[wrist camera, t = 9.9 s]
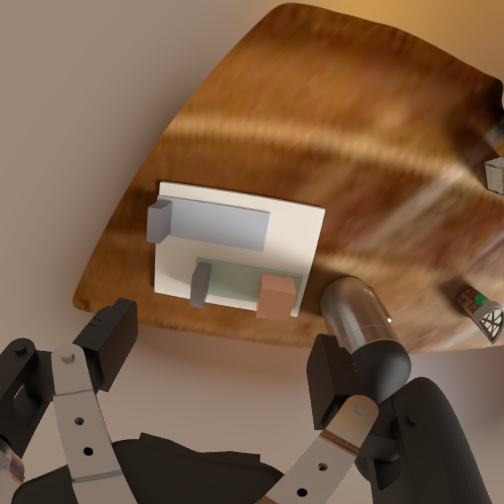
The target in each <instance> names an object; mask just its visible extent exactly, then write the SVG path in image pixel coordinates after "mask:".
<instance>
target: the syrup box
mask: <svg viewBox="0 0 504 504" xmlns="http://www.w3.org/2000/svg"><path fill="white" fill-rule="evenodd" d="M484 166H485V172H486V180H487V188H488V191H491V192H493V193H496V194H498V195H501V196H504V157H499V158H496V159H493V160H490V161H487V162H484Z"/></svg>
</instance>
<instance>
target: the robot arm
mask: <svg viewBox="0 0 504 504" xmlns="http://www.w3.org/2000/svg"><path fill="white" fill-rule="evenodd" d="M320 307H321V311H322V314H323V318H324V322H325V325H326V328H327V332H328V335H327V334H318V335H317V337H316V340H315V343H314V345H313V348H312V351H311V353H310V356H309V359H308V362H307V379H308V385H309V392H310V399H311V407H312V414H313V422H314V429H315V430H324V431H322V432H321V434H320V435H319V436H318V437H317V438H316V440H315V441H314V442H313V443H312V444H311V446H310V447H309V448H308V449H307V450H306V452H305V453H304V454H303V455H302V456H301V457H300V459H299V460H298V461H297V462H296V463H295V464H294V465H293V467H291V469H290V470H289V471H288V472H287V473H286V474H285V475H284V474H283V473H282V472H280V471H279V470H277V469H276V468H274V467H272V466H270V465H267V464H265V463H261V462H260V454H249V453H240V452H233V451H227V452H207V453H206V452H205V453H200V452H196V451H193V450H191V449H189V448H186V447H184V446H182V445H180V444H178V443H175V442H173V441H171V440H168V439H164V438H161V437H157V436H153V435H149V434H146V433H141V435H140V438H139V439H127V440H121V441H116V442H113V443H112V440H111V438H110V435H109V433H108V430H107V427H106V424H105V422H104V419H103V416H102V413H101V410H100V406H99V403H98V400H97V397H96V394H97V392H98V391H99V389H100V390H102V391H105V392H108V391H109V389H110V387H111V386H112V384H113V382H114V380H115V378H116V376H117V374H118V373H119V371H120V369H121V367H122V365H123V363H124V362H125V360H126V358H127V356H128V354H129V353H130V351H131V349H132V347H133V345H134V344H135V342H136V339H137V335H138V319H137V304H136V302H135V301H132V300H128V299H124V298H119V299H118V300H117V301H116V302H115V303H114V305H113V306H112V307H110V306H106V307H104V308H103V309H101V310H99V311H98V312H97V313H96V314H95V316H94V317H93V319H91V321H90V322H89V323H88V325H86V326H85V328H84V329H83V330H82V331H81V333H80V334H79V335H78V337H77V338H76V339H75V340H74V341H73V343H72V344H62V345H60V346H58V347H57V348H55V349H54V350H53V352H48V351H39V350H36V348H35V345H34V343H33V342H32V341H31V340H29V339H26V338H19V339H16V340H14V341H12V342H11V343H10V344H9V345H8V346H7V347H6V348H5V350H4V351H3V352H2V353H1V355H0V504H325V503H326V502H327V500H328V499H329V497H330V496H331V495H332V493H333V492H334V491H335V489H336V488H337V486H338V485H339V484H340V482H341V480H342V479H343V478H344V476H345V475H346V473H347V472H348V470H349V468H350V467H351V466H352V464H353V462H354V463H355V465H356V467H357V469H358V470H359V472H360V473H361V474H362V476H363V477H364V478H365V479H366V480H368V481H369V482H370V483H371V490H372V498H373V504H492V502H491V500H490V498H489V495H488V493H487V490H486V488H485V485H484V483H483V480H482V477H481V475H480V472H479V469H478V467H477V464H476V461H475V459H474V456H473V454H472V452H471V449H470V447H469V444H468V442H467V439H466V437H465V435H464V432H463V430H462V428H461V426H460V423H459V421H458V419H457V417H456V415H455V413H454V411H453V409H452V407H451V405H450V403H449V401H448V400H447V398H446V397H445V395H444V394H443V392H442V391H441V390H440V388H439V387H438V386H437V385H436V384H435V383H434V382H433V381H431V380H430V379H428V378H425V377H418V378H415V379H413V380H412V381H410V382H408V383H407V384H406V382H407V380H408V378H409V375H410V372H411V361H410V358H409V356H408V354H407V352H406V350H405V348H404V347H403V345H402V343H401V342H400V340H399V338H398V336H397V335H396V333H395V331H394V330H393V328H392V326H391V325H390V322H391V319H392V318H391V316H390V314H389V313H388V311H387V309H386V308H385V306H384V305H383V303H382V302H381V300H380V298H379V297H378V295H377V294H376V292H375V291H374V289H373V288H369V287H368V286H367V285H366V284H365V283H364V282H363V281H362V280H360V279H358V278H355V277H344V278H340V279H337V280H335V281H334V282H332V283H331V284H329V285H328V286H327V287H326V289H325V290H324V291H323V293H322V296H321V299H320ZM405 384H406V385H405ZM21 386H22V388H21V389H20V387H21ZM19 389H20V391H19ZM18 391H19V392H18ZM17 392H18V394H17V395H16V393H17ZM15 395H16V397H15ZM14 397H15V399H14ZM51 401H53V402H54V407H55V412H56V418H57V423H58V428H59V432H60V437H61V440H62V445H63V449H64V453H65V456H66V460H67V463H68V464H67V465H65V466H62V467H60V468H58V469H56V470H54V471H51V472H49V473H46V474H44V475H42V476H39V477H37V478H34V479H31V480H29V481H26V482H25V483H23V481H24V479H25V476H24V471H25V470H24V464H23V462H22V460H21V459H22V457H23V455H24V452H25V450H26V448H27V446H28V444H29V442H30V440H31V438H32V436H33V434H34V432H35V430H36V428H37V426H38V424H39V422H40V420H41V418H42V416H43V414H44V413H45V411H46V409H47V407H48V405H49V404H50V402H51Z"/></svg>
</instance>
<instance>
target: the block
mask: <svg viewBox="0 0 504 504" xmlns="http://www.w3.org/2000/svg"><path fill="white" fill-rule="evenodd" d="M295 297H296V289H295V284H294V279H293V278H290V277H284V276H277V275H271V274H265V273H262V276H261V281H260V286H259V290H258V295H257V301H256V317H258V318H264V319H271V320H278V321H285V322H289V318H290V315H291V311H292V308H293V304H294V300H295Z"/></svg>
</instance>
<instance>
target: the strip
mask: <svg viewBox="0 0 504 504" xmlns="http://www.w3.org/2000/svg"><path fill="white" fill-rule="evenodd" d="M269 217H270V213H269V212H263V211H257V210H252V209H246V208H240V207H234V206H228V205H221V204H215V203H209V202H202V201H196V200H189V199H182V198H175V197H168V196H160V195H159V196H158V197H157V202H156V203H154V204H153V205H151V206H149V207H148V219H147V241H146V242H151V243H156V244H160V243H161V242H162V241H163V240H164V239H165V238H166V237H167V236H173V237H179V238H185V239H191V240H196V241H202V242H208V243H214V244H220V245H226V246H232V247H238V248H244V249H249V250H255V251H261V252H263V248H264V243H265V238H266V233H267V228H268V223H269Z"/></svg>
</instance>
